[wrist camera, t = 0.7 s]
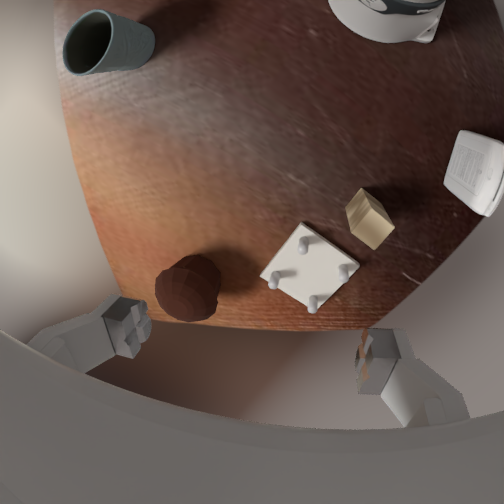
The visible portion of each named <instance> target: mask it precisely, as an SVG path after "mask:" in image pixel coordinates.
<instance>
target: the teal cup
mask: <svg viewBox="0 0 504 504" xmlns="http://www.w3.org/2000/svg"><path fill="white" fill-rule="evenodd" d="M154 47H155V36H154V33H153V31H152V30H151V29H150V28H149V27H147V26H145V25H143V24H140V23H137V22H135V21H133V20H130V19H128V18H125V17H122V16H117V15H116V14H113V13H111V12H108V11H105V10H101V9H96V10H92V11H89V12H87V13H85V14H84V15H82V16H81V17H80V18H79V19H78V20H77V21H76V22H75V23H74V24H73V26H72V27H71V28H70V30H69V32H68V34H67V36H66V39H65V42H64V46H63V62H64V65H65V67H66V69H67V70H68V71H69V72H70V73H72V74H73V75H77V76H83V75H89V74H94V73H103V72H111V71H117V70H118V71H125V70H133V69H136V68H139V67H140V66H142V65H143V64H145V63H146V62H147V61H148V59H149V58H150V56H152V52H153V51H154Z"/></svg>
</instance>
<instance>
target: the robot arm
mask: <svg viewBox="0 0 504 504" xmlns="http://www.w3.org/2000/svg"><path fill="white" fill-rule="evenodd" d="M445 1H446V0H328V2H329V4H330V7H331V9H332V10H333V12H334V13H335V15H336V16H337V17H338V19H339V20H340V21H341V22H342V23H343V24H344V25H346V26H347V27H348V28H349V29H351V30H352V31H354V32H356V33H357V34H359V35H361V36H363V37H366V38H368V39H371V40H374V41H378V42H385V43H397V42H403V41H408V40H413V41H417V42H421V43H429V42H431V41H432V40H433V38H434V35H435V32H436V29H437V26H438V23H439V20H440V17H441V14H442V11H443V8H444V4H445ZM427 30H429V32H428V31H427ZM147 310H148V307H147V303H146V302H145V301H144V300H141V299H137V298H132V297H128V296H123V295H119V294H111V295H110V296H108V297H107V298H106V299H105V300H104V301H103V302H102V303H101V304H100V305H99V306H98V307H97V308H96V309H95V310H94V311H93V312H92V313H91V314H89V313H87V314H84V315H81V316H79V317H76V318H73V319H70V320H68V321H65V322H62V323H59V324H57V325H54V326H51V327H48V328H45V329H43V330H41V331H40V332H39V333H38V334H37V335H36V336H35V337H34V338H33V339H32V340H31V341H30V342H29V343H28V344H27V345H25V344H23V343H22V342H19V341H18V340H16V339H15V338H13V337H11V336H10V335H8V334H7V333H5V332H3V331H2V330H0V504H504V411H501V412H497V413H494V414H489V415H485V416H481V417H476V418H472V419H470V416H469V413H468V410H467V407H466V404H465V401H464V398H463V396H462V394H461V393H460V392H459V391H458V390H457V389H455V388H454V387H453V386H452V385H450V384H449V383H448V382H447V381H446V380H445V379H443V378H442V377H441V376H440V375H439V374H437V373H436V372H435V371H434V370H432V369H431V368H430V367H429V366H428V365H426V364H425V363H424V362H423V361H421V360H420V359H416V358H415V355H414V353H413V350H412V347H411V344H410V342H409V339H408V336H407V333H406V331H405V330H404V329H378V328H365V329H364V330H363V333H362V336H361V337H362V344H360V345H359V346H358V349H357V352H356V358H355V369H356V371H357V373H358V374H359V375H358V378H357V388H358V394H372V395H374V394H375V395H380V396H381V397H382V399H383V400H384V401H385V403H386V404H387V405H388V407H389V408H390V409H391V410H392V412H393V413H394V414H395V415H396V417H397V418H398V419H399V421H400V422H401V423H402V425H403V426H404V427H405V428H396V429H371V430H339V429H316V428H301V427H290V426H281V425H272V424H265V423H258V422H251V421H245V420H239V419H233V418H227V417H222V416H217V415H213V414H208V413H204V412H199V411H195V410H191V409H187V408H183V407H179V406H176V405H172V404H168V403H164V402H161V401H158V400H154V399H151V398H148V397H145V396H142V395H139V394H136V393H133V392H130V391H127V390H124V389H121V388H119V387H116V386H113V385H111V384H108V383H105V382H103V381H100V380H98V379H95V378H93V377H91V376H88V375H86V374H84V373H86V372H87V371H89V370H91V369H92V368H94V367H96V366H97V365H99V364H101V363H103V362H104V361H106V360H108V359H109V358H111V357H113V356H115V354H118V355H121V356H125V357H128V358H132V359H133V358H134V357H135V355H136V354H137V352H138V351H139V350H140V348H141V346H140V343H142V342H144V341H146V340H147V338H148V337H149V334H150V331H151V321H150V318H149V317H148V315H147V314H146V312H147Z"/></svg>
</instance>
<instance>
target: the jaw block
mask: <svg viewBox="0 0 504 504" xmlns="http://www.w3.org/2000/svg"><path fill="white" fill-rule="evenodd" d="M345 208H346V212H347V217H348V221H349V225H350V230H351V233H353V234H354V235H355V236H357V237H358V238H359V239H360V240H362V241H363V242H364V243H366V244H367V245H368V246H370V247H371V248H372V249H373V250H375V249H376V248H377V247H378V246H379V245H380V244H381V242H382V241H383V240H384V239H385V238H386V237H387V236H388V235H389V234H390V232H391V231H392V230H393V229H394V228H395V227H394V225H393V223H392V222H391V220H390V218H389V216H388V214H387V213H386V211H385V209H384V208H383V206H382V204H381V203H380V202H379V201H377V200H376V199H375V198H374V197H373V196H371V195H370V194H369V193H368V192H366V191H365V190H364V189H363V188H361V189H360V190H359V191H358V192H357V194H356V195H355V196H354V197H353V199H352V200H351V201H350V202H349V204H348V205H347V206H346V207H345Z"/></svg>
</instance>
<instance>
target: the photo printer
mask: <svg viewBox="0 0 504 504" xmlns="http://www.w3.org/2000/svg"><path fill="white" fill-rule="evenodd" d="M444 185H445V186H446V187H447V188H448V189H449V190H450V191H451V192H452V193H453V194H455V195H456V196H457V197H458V198H459V199H461V200H462V201H463V202H464V203H465V204H466V205H468V206H469V207H470V208H471V209H472V210H473V211H475V212H477V213H478V214H481V215H485V216H487V217H490V216H491V215H492V213H493V212H494V211H495V209H496V208H497V206H498V204H499V202H500V200H501V198H502V196H503V194H504V144H503V143H502V142H501V141H498V140H496V139H493V138H490V137H487V136H484V135H480V134H477V133H474V132H471V131H467V130H460V132H459V134H458V136H457V139H456V142H455V145H454V149H453V152H452V155H451V158H450V162H449V165H448V168H447V171H446V175H445V179H444Z"/></svg>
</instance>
